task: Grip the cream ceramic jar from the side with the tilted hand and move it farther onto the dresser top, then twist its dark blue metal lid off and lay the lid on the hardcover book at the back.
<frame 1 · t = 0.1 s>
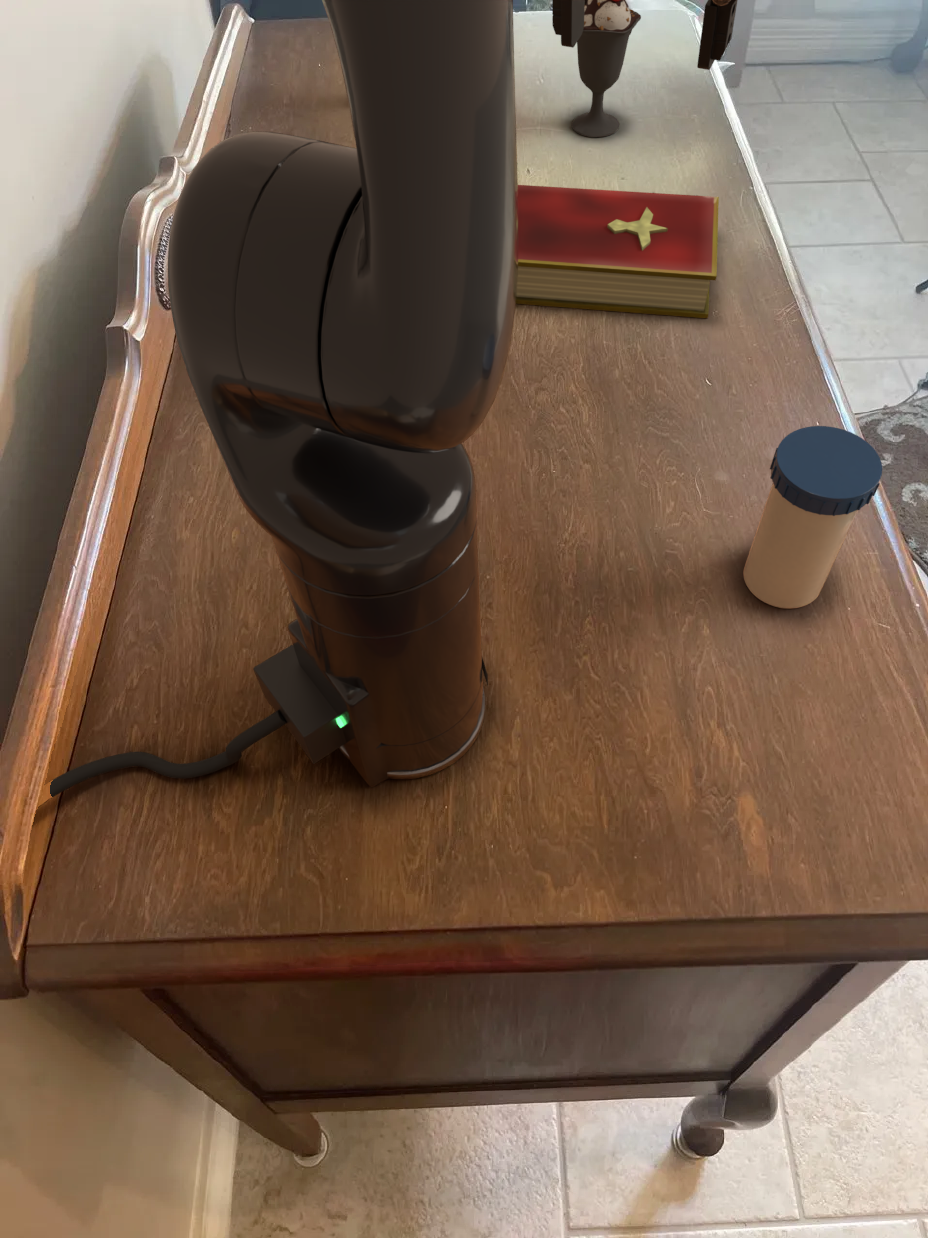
hand: (639, 50, 56), 22 cm above the table, tool pointing down, fingers open, 8 cm apart
hardcover book: (587, 268, 81), on the table
sundae: (595, 127, 95), on the table
jar lid: (827, 464, 52), point 10 cm above the table, screwed on, not yet turned
jar: (782, 578, 60), on the table
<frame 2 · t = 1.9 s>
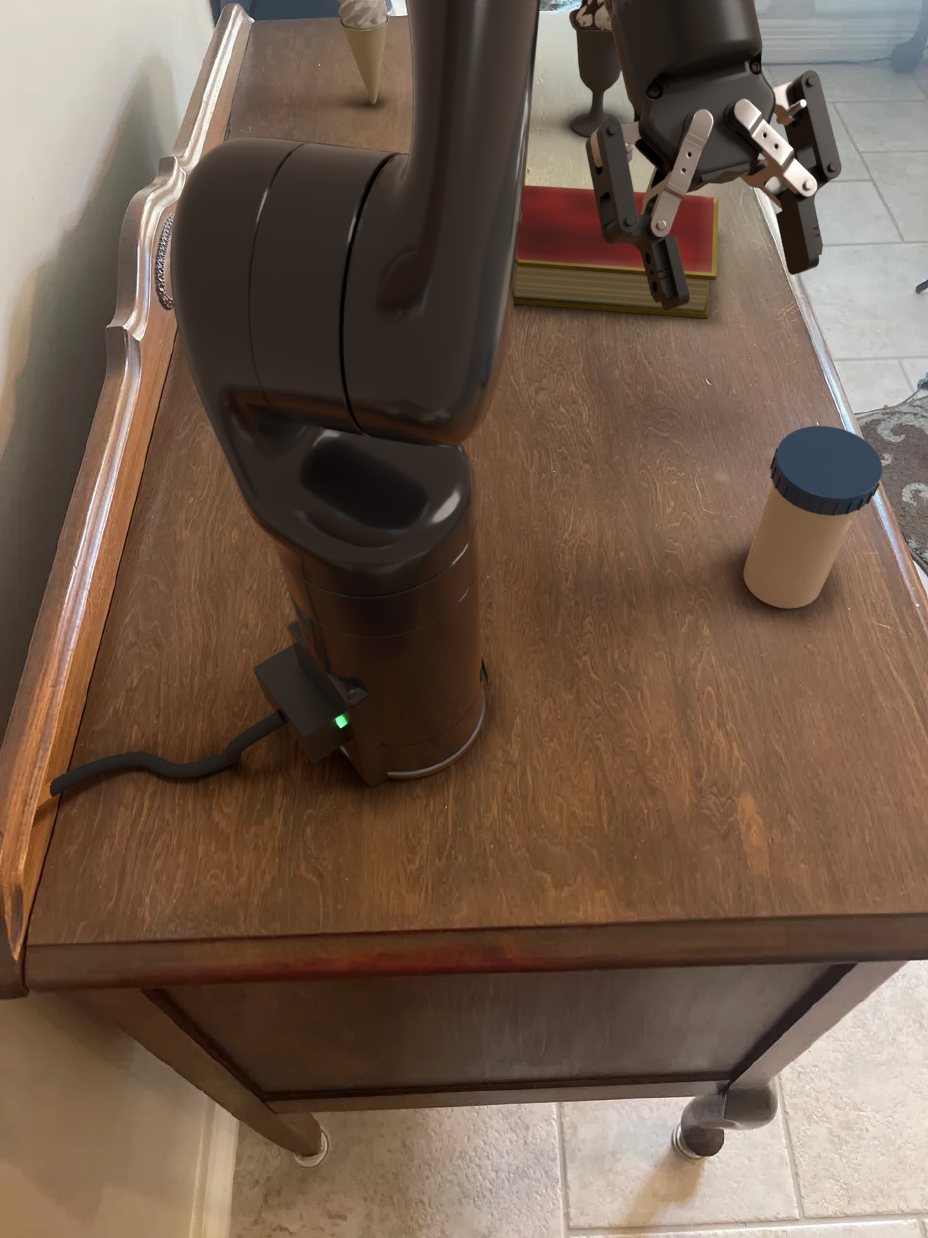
hand: (742, 288, 54), 15 cm above the table, tool tilted 45°, fingers open, 8 cm apart
nothing on the table moved.
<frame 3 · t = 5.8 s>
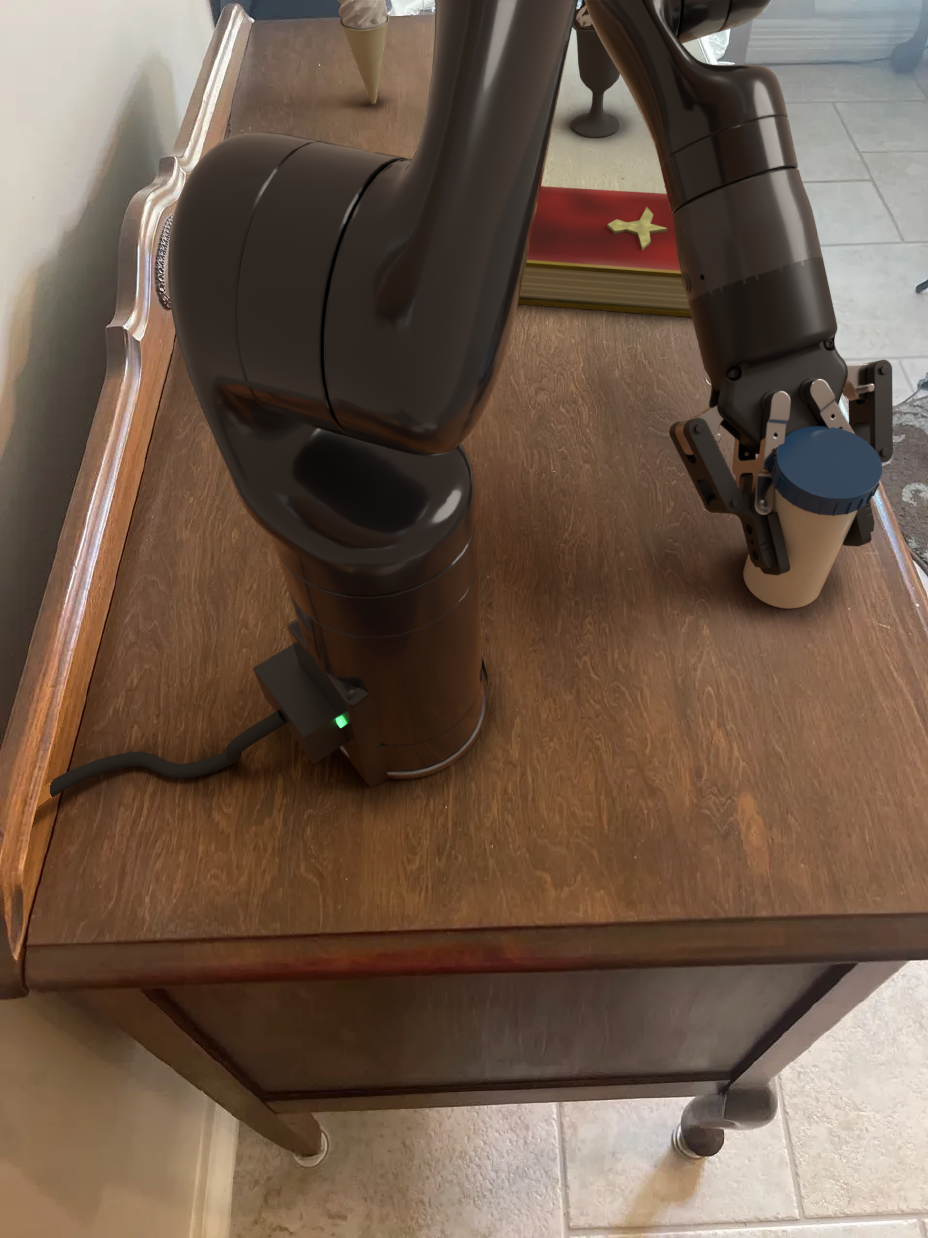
hand: (816, 557, 56), 4 cm above the table, tool tilted 45°, fingers closed on jar, 5 cm apart
jar: (782, 578, 60), on the table, touching gripper
everything else where it was.
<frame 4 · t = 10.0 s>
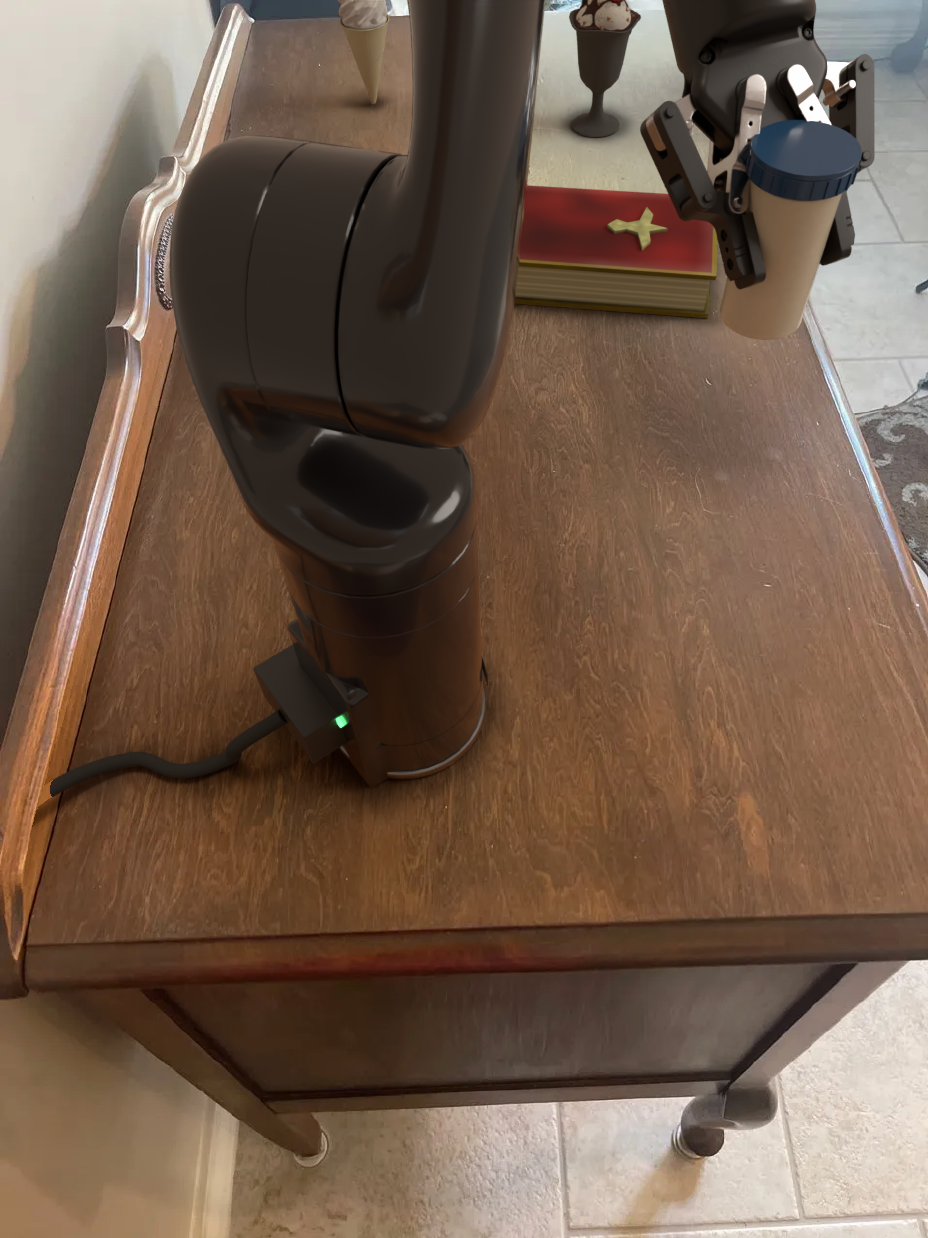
hand: (794, 271, 53), 16 cm above the table, tool tilted 45°, fingers closed on jar, 5 cm apart
jar lid: (804, 151, 49), point 22 cm above the table, screwed on, not yet turned
jar: (760, 314, 58), point 12 cm above the table, touching gripper
everything else where it was.
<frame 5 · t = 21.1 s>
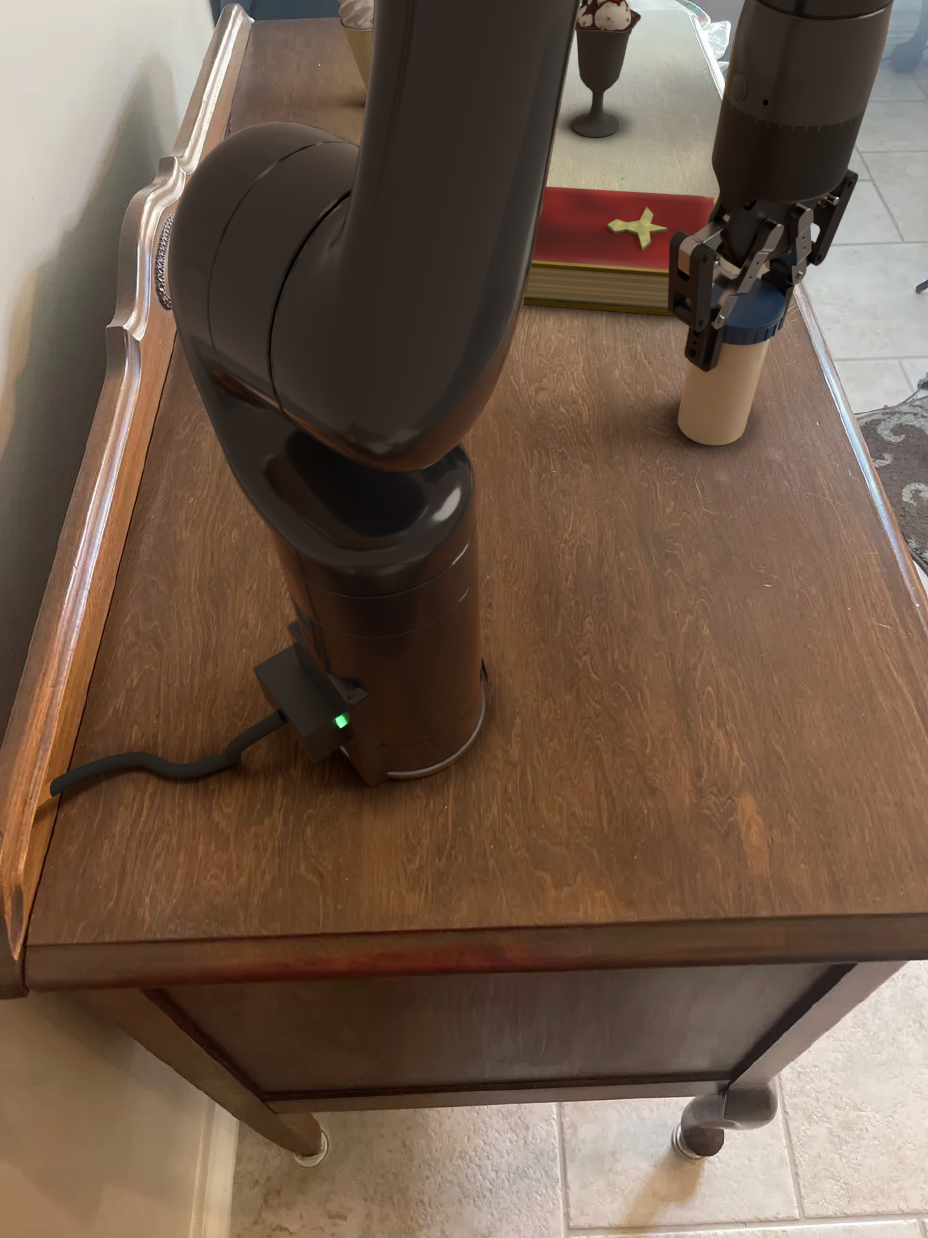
hand: (733, 344, 63), 7 cm above the table, tool pointing down, fingers closed on jar lid, 5 cm apart
jar lid: (739, 303, 60), point 10 cm above the table, screwed on, not yet turned, touching gripper
jar: (711, 422, 69), on the table
everything else where it was.
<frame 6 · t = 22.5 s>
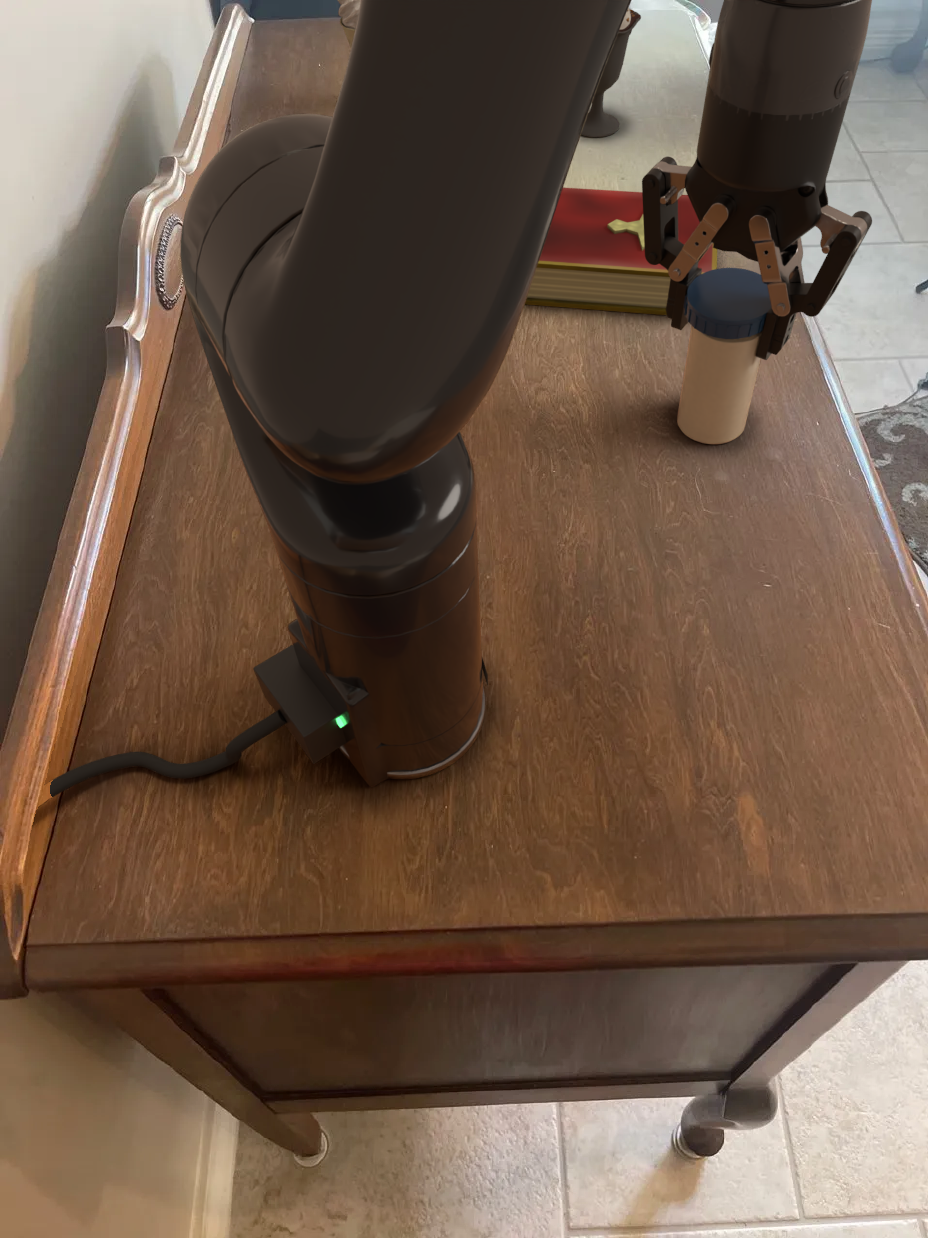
hand: (723, 336, 63), 7 cm above the table, tool pointing down, fingers closed on jar lid, 5 cm apart
jar lid: (731, 297, 60), point 11 cm above the table, off its thread, touching gripper
jar: (711, 421, 69), on the table, touching gripper
everything else where it was.
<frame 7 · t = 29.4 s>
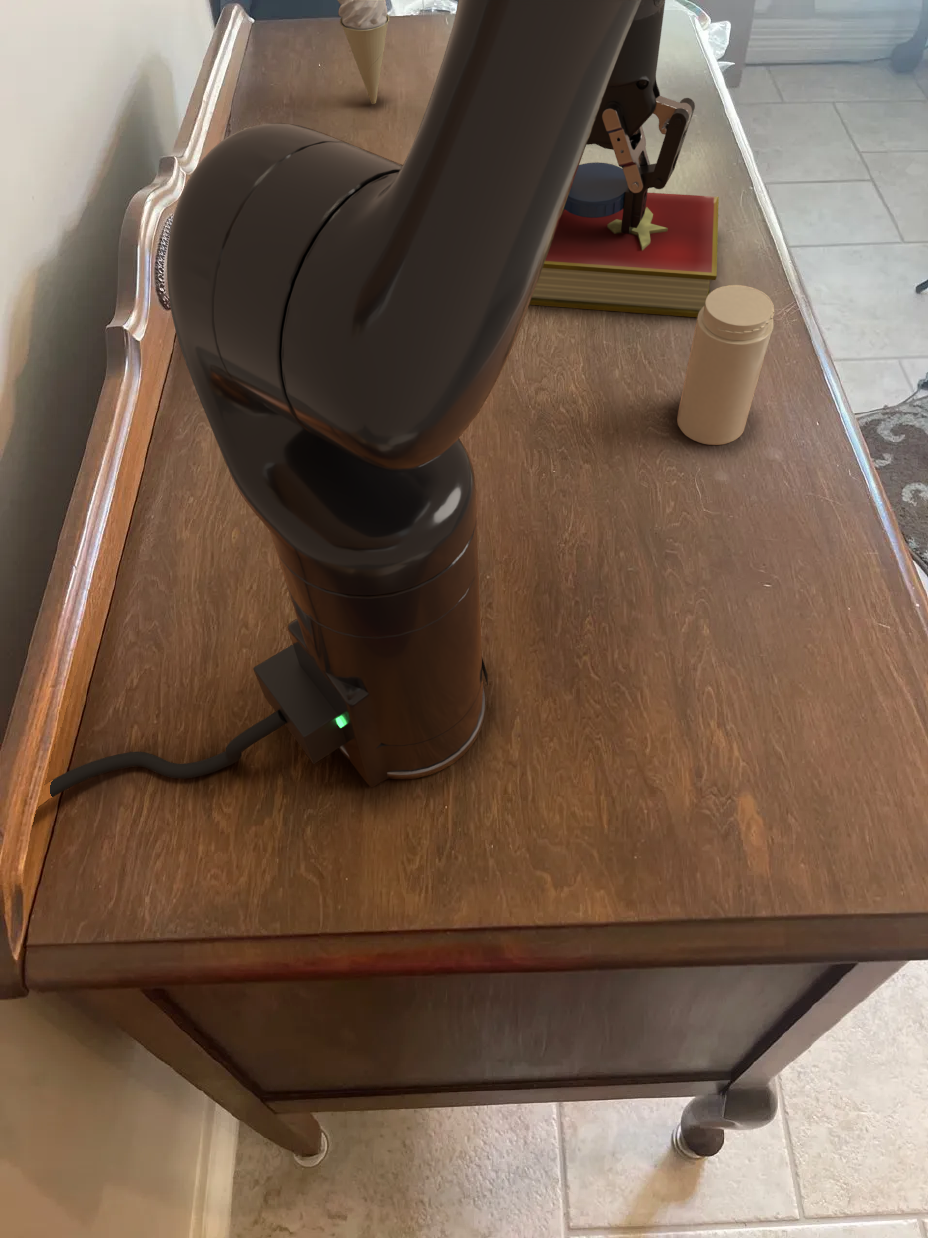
hand: (592, 220, 77), 4 cm above the table, tool pointing down, fingers closed on jar lid, 5 cm apart
hardcover book: (587, 268, 81), on the table, touching gripper
jar lid: (594, 184, 74), point 8 cm above the table, off its thread, touching gripper
jar: (710, 421, 69), on the table
everything else where it was.
when the fingers open (5 cm above the table, at t = 35.1 s): jar lid drops 3 cm, resting on hardcover book.
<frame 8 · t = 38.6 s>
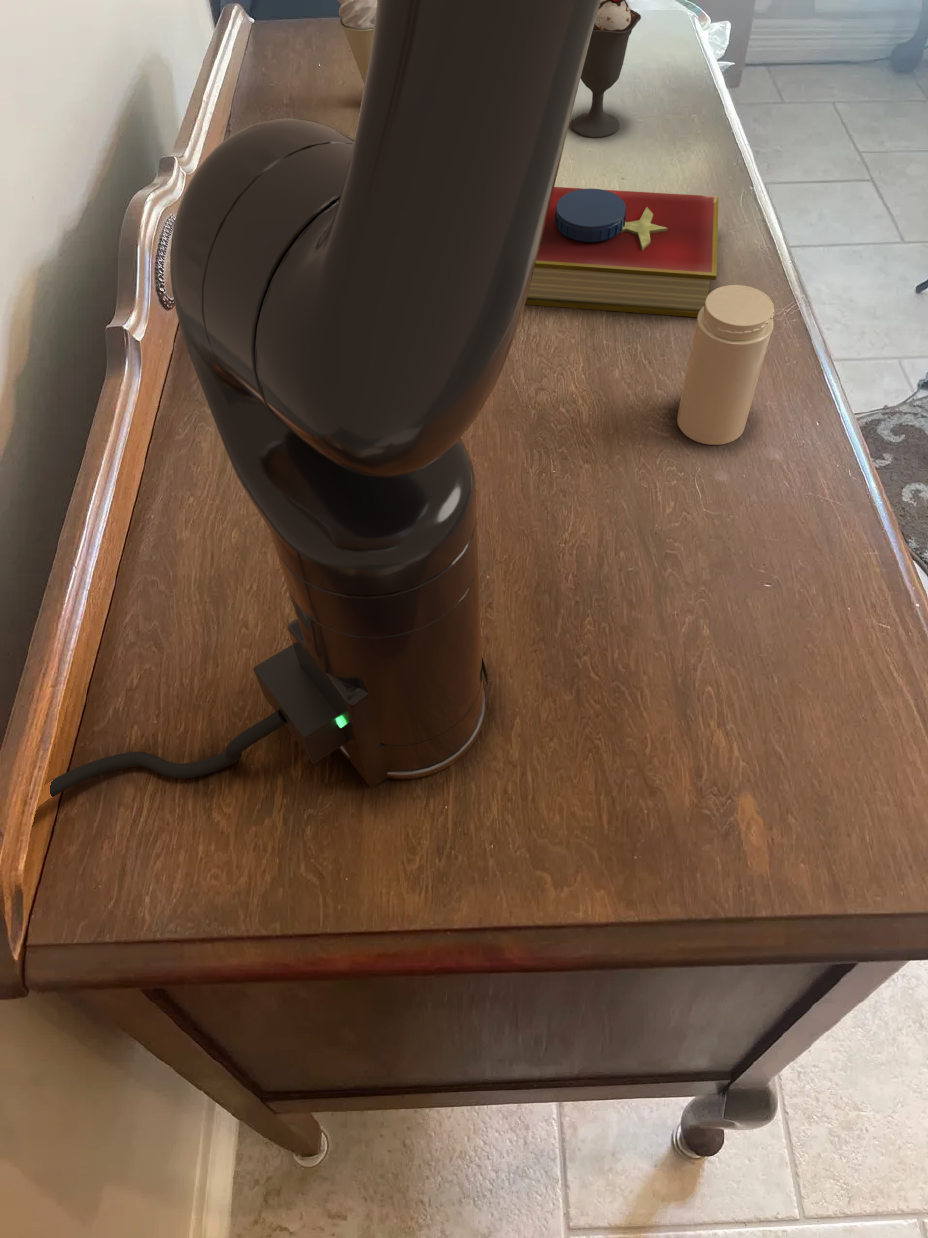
hardcover book: (587, 268, 81), on the table, touching jar lid
jar lid: (590, 210, 76), point 5 cm above the table, off its thread, touching hardcover book
everything else where it was.
at the end: jar lid inside the target area on the hardcover book (0.2 cm from its centre), point 5.5 cm above the hardcover book's base; the gripper is holding nothing; jar tilted 0° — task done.
